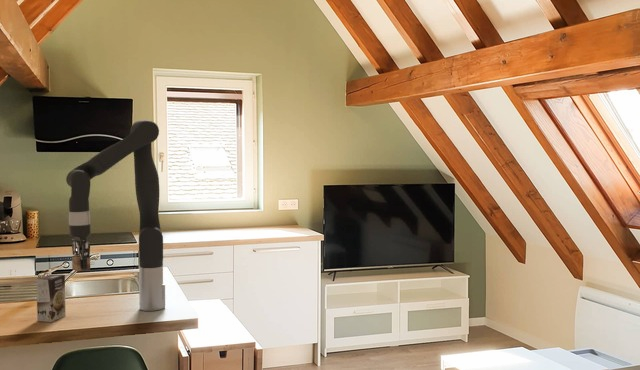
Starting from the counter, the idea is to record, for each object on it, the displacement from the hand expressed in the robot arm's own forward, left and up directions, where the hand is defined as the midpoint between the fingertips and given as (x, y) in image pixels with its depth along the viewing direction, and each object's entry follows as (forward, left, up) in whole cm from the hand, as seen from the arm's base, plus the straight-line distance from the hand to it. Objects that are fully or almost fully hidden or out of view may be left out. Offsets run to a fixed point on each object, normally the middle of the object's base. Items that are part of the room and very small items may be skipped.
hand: (81, 267), depth 245 cm
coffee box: (+9, -7, -20) cm, 23 cm away
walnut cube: (0, 0, -1) cm, 1 cm away
